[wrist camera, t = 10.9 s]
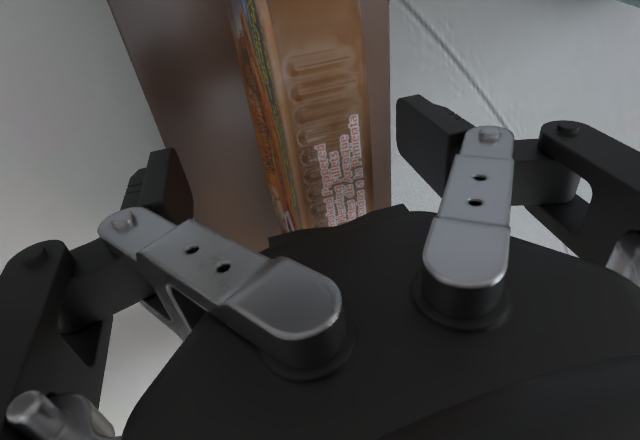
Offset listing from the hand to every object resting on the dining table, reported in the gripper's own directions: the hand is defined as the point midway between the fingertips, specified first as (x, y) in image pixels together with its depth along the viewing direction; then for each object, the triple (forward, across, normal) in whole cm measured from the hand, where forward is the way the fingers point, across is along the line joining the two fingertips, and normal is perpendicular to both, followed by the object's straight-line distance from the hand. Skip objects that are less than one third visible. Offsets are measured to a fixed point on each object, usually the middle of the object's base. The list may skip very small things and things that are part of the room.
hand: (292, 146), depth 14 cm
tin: (+5, 0, 0) cm, 5 cm away
